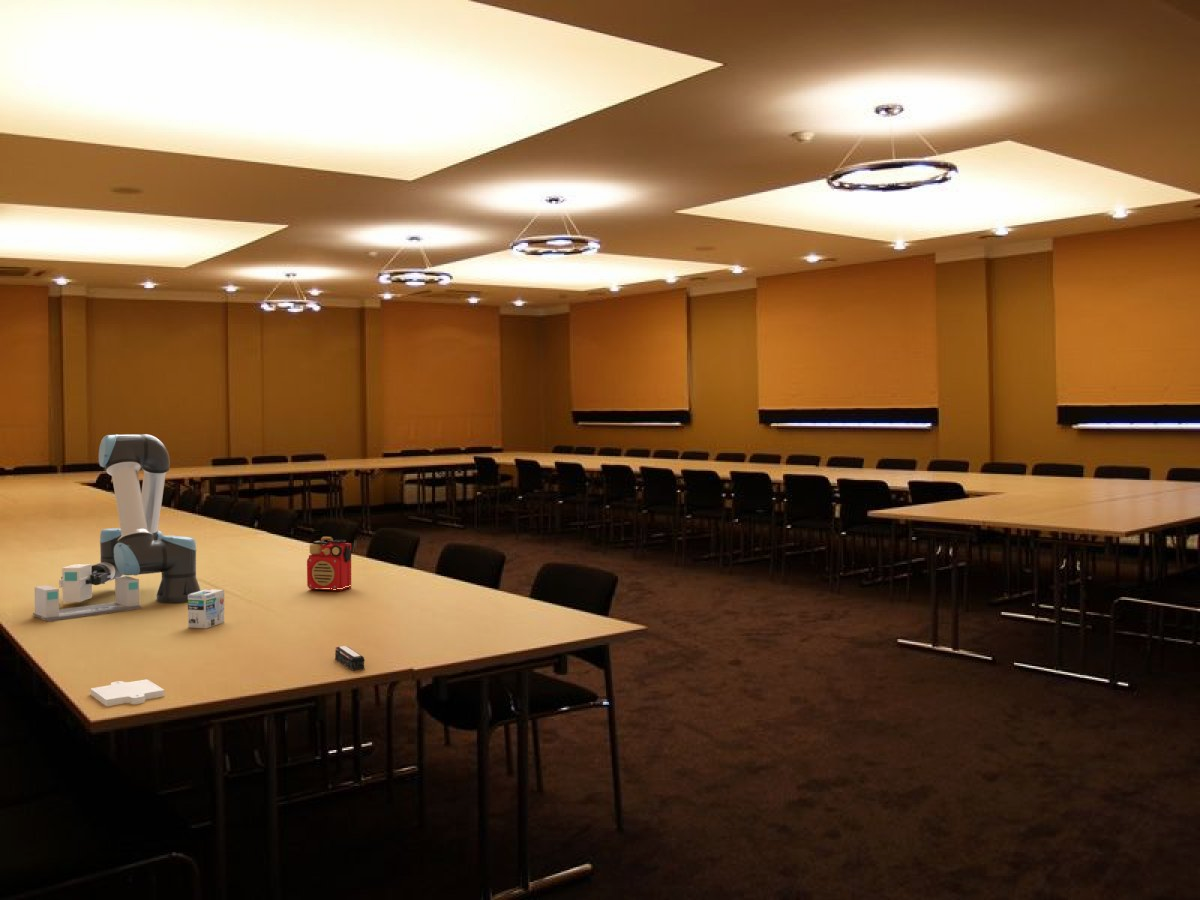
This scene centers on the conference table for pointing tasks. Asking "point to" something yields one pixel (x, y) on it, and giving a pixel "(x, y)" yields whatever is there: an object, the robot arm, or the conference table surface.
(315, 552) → the radio
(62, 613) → the rail board
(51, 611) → the block
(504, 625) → the conference table surface
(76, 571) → the block
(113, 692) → the mounting plate
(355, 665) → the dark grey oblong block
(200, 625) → the light bulb box
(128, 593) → the block
